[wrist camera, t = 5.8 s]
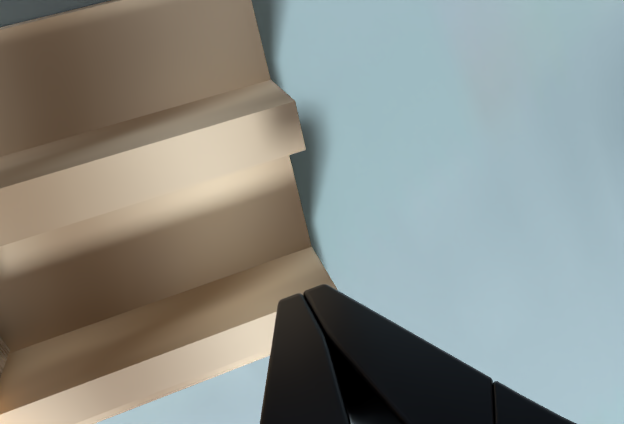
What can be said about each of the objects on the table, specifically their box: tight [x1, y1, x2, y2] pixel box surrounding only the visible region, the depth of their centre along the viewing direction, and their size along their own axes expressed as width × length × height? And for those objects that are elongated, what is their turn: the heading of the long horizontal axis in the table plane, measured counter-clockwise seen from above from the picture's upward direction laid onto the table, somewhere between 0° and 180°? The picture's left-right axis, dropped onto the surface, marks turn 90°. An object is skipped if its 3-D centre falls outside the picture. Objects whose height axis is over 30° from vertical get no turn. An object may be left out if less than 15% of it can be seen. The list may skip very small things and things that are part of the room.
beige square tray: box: [0, 0, 337, 424], centre depth 11 cm, size 10×10×3 cm
